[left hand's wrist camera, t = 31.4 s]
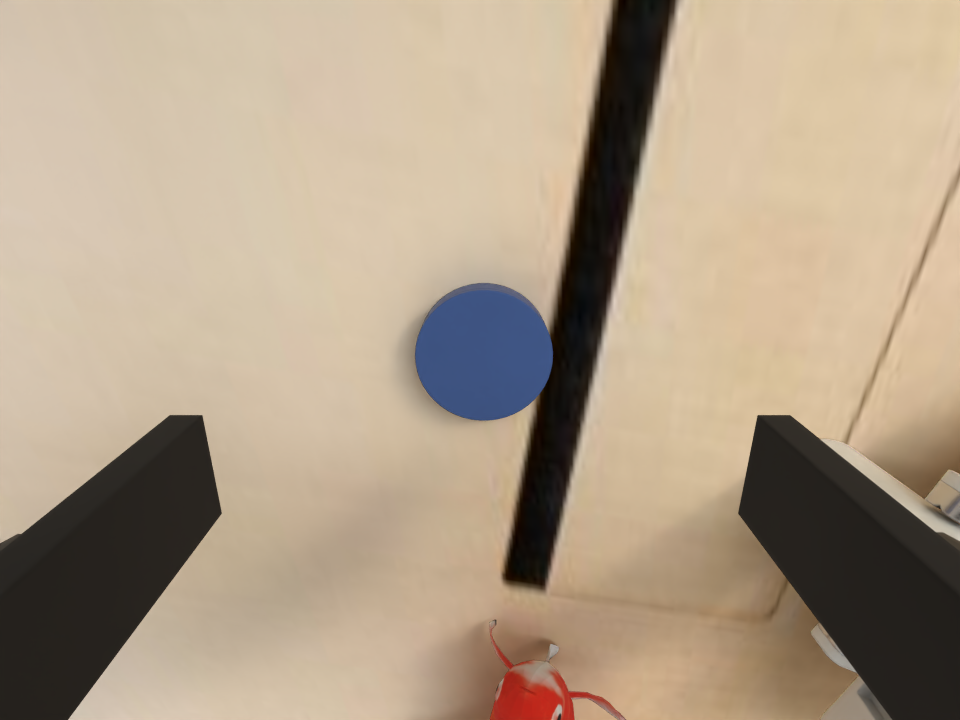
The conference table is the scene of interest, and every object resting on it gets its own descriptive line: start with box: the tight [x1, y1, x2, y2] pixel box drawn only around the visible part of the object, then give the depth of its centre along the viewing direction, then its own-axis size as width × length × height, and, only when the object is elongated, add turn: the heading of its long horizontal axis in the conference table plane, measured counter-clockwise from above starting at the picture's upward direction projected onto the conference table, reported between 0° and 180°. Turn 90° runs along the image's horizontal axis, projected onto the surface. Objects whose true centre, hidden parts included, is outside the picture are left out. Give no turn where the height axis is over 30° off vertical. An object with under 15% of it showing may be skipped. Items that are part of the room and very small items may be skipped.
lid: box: [415, 283, 553, 420], centre depth 24 cm, size 6×6×2 cm
